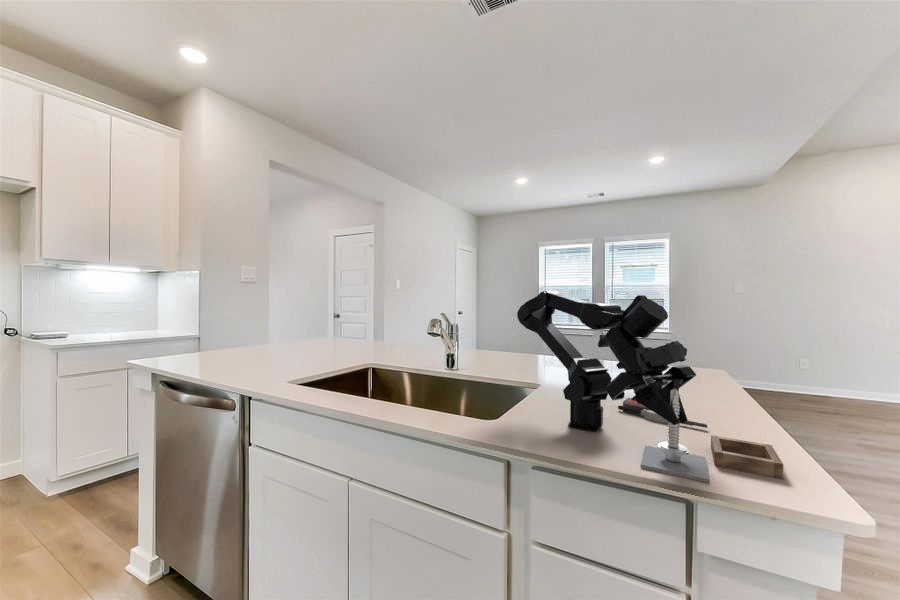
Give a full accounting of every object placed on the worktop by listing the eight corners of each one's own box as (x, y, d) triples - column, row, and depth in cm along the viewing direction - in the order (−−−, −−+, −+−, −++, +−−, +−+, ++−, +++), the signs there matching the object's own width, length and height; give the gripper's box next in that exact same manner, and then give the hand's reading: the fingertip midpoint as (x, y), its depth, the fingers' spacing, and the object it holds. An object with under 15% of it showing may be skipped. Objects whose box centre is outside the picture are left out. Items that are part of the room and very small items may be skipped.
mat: (640, 467, 66) (640, 464, 66) (645, 448, 75) (645, 445, 75) (709, 482, 61) (709, 479, 61) (705, 460, 70) (705, 456, 70)
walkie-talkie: (614, 414, 97) (706, 433, 84) (614, 397, 97) (707, 414, 84) (625, 407, 104) (712, 423, 91) (625, 391, 104) (712, 405, 91)
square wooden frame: (714, 465, 68) (714, 451, 67) (710, 447, 76) (711, 435, 76) (783, 479, 63) (783, 464, 63) (771, 458, 71) (771, 445, 71)
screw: (694, 465, 66) (666, 464, 66) (678, 454, 70) (652, 453, 71) (696, 392, 65) (668, 391, 66) (680, 385, 70) (654, 384, 70)
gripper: (621, 328, 67) (678, 406, 58) (687, 325, 75) (748, 394, 65) (587, 363, 75) (633, 438, 65) (651, 357, 82) (701, 423, 73)
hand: (681, 423), depth 67 cm, fingers closed on screw, 2 cm apart
